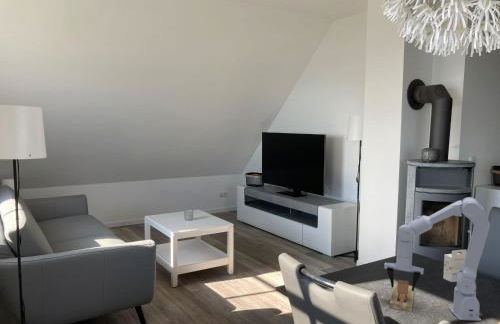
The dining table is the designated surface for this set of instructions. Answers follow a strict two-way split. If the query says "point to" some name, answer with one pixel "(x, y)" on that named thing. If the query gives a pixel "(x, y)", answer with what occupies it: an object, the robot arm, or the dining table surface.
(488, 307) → the dining table surface
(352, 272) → the dining table surface
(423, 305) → the dining table surface
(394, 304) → the rail
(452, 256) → the ink cartridge box
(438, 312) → the dining table surface
